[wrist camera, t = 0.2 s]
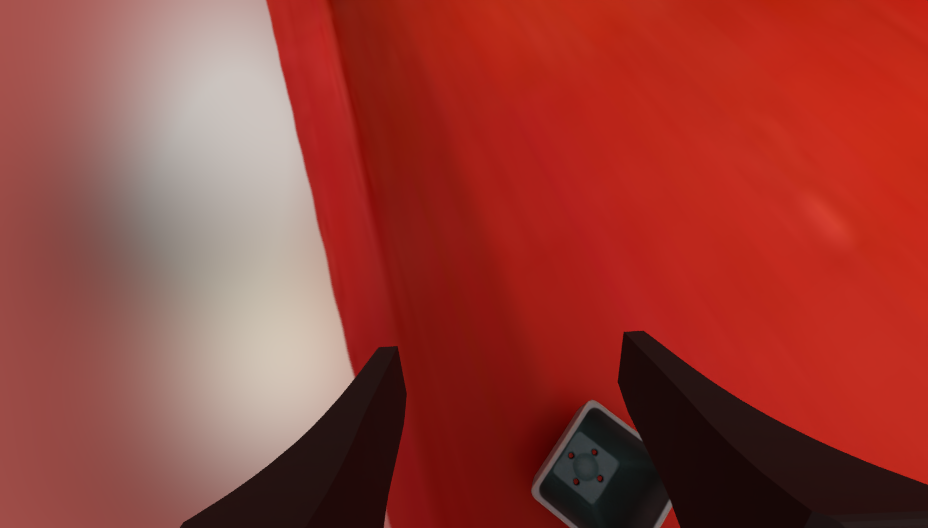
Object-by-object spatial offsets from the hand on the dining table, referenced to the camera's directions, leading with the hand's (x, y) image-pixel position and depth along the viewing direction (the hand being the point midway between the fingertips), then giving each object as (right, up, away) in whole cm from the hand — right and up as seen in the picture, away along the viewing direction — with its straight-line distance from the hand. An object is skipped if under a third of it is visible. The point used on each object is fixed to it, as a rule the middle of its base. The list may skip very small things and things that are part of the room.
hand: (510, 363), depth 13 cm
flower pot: (+10, -16, +26) cm, 32 cm away
